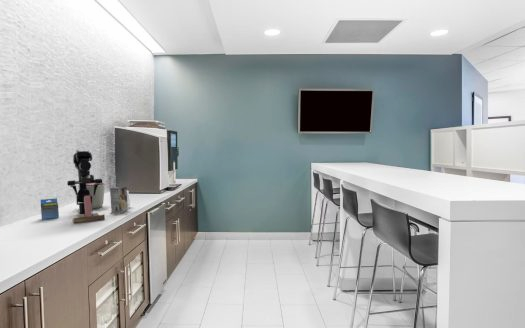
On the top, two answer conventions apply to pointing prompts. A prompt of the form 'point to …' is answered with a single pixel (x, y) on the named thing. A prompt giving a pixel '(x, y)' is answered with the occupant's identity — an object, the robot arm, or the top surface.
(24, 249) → the top surface
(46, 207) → the label tape cartridge
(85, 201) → the dusty red block
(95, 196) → the canister
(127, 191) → the cylinder with rectangular tab
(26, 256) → the top surface
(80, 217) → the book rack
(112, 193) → the coffee box
